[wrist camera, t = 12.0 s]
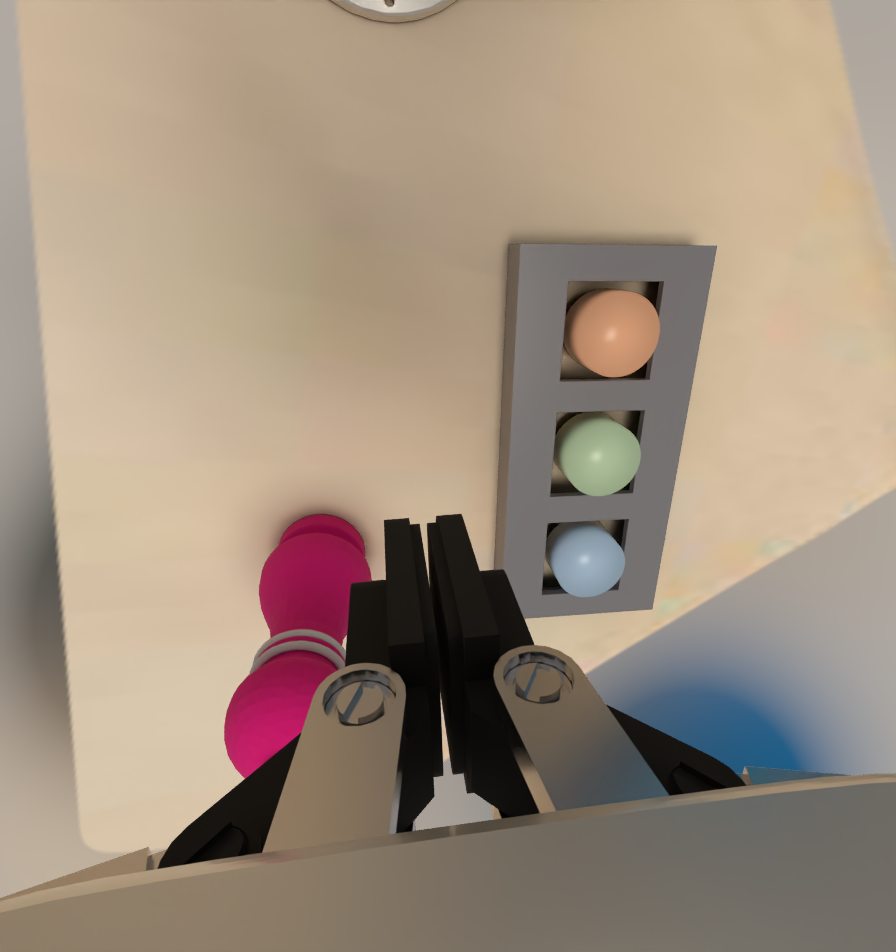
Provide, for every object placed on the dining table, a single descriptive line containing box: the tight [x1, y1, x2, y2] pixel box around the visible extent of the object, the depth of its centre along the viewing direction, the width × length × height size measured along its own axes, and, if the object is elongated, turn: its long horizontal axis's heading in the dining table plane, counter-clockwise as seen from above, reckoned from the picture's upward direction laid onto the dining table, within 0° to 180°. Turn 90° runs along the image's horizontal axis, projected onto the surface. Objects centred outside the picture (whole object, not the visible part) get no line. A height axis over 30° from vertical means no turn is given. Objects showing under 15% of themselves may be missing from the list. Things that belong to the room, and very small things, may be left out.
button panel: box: [494, 244, 717, 619], centre depth 38 cm, size 26×12×3 cm, turn 0°
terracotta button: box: [563, 288, 660, 377], centre depth 34 cm, size 5×5×3 cm
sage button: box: [553, 412, 641, 496], centre depth 37 cm, size 5×5×3 cm
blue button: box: [545, 521, 625, 597], centre depth 40 cm, size 5×5×3 cm
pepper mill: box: [224, 515, 372, 779], centre depth 31 cm, size 7×7×20 cm
